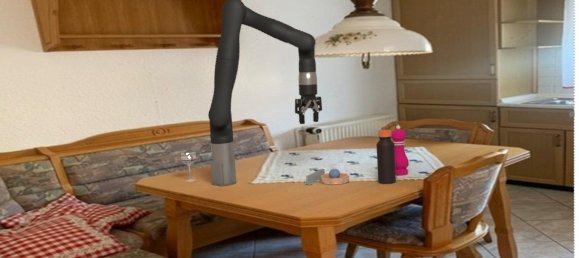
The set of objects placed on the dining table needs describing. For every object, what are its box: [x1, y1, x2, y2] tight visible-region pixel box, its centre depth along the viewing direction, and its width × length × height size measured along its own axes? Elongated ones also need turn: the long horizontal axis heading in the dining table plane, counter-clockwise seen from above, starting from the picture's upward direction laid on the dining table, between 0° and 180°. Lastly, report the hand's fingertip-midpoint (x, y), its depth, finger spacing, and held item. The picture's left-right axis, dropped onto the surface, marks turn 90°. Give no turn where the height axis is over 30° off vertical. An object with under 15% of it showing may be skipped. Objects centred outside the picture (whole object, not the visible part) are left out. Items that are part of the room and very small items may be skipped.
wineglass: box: [180, 151, 197, 183], centre depth 246 cm, size 7×7×12 cm
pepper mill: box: [391, 124, 410, 176], centre depth 231 cm, size 7×7×20 cm
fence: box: [303, 168, 326, 186], centre depth 229 cm, size 14×3×4 cm, turn 149°
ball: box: [328, 168, 341, 178], centre depth 225 cm, size 4×4×4 cm
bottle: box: [376, 129, 397, 185], centre depth 218 cm, size 7×7×20 cm
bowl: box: [320, 172, 350, 186], centre depth 226 cm, size 11×11×2 cm
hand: (309, 122), depth 234 cm, fingers open, 8 cm apart
